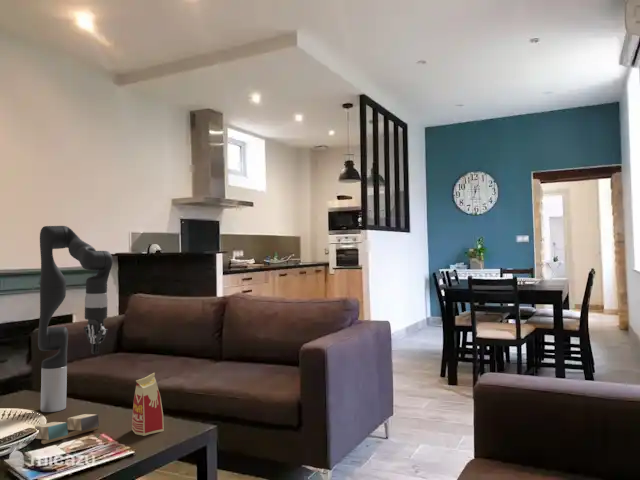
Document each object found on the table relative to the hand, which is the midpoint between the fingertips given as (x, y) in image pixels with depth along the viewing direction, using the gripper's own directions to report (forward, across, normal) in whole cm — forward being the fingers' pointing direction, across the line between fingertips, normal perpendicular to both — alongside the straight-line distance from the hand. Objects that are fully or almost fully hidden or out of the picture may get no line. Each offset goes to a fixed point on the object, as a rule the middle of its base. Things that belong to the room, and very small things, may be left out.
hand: (95, 353), depth 181 cm
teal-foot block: (+23, +4, -14) cm, 27 cm away
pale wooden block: (+23, +3, -3) cm, 24 cm away
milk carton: (+27, +18, +10) cm, 34 cm away
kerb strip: (+27, +1, -9) cm, 28 cm away
